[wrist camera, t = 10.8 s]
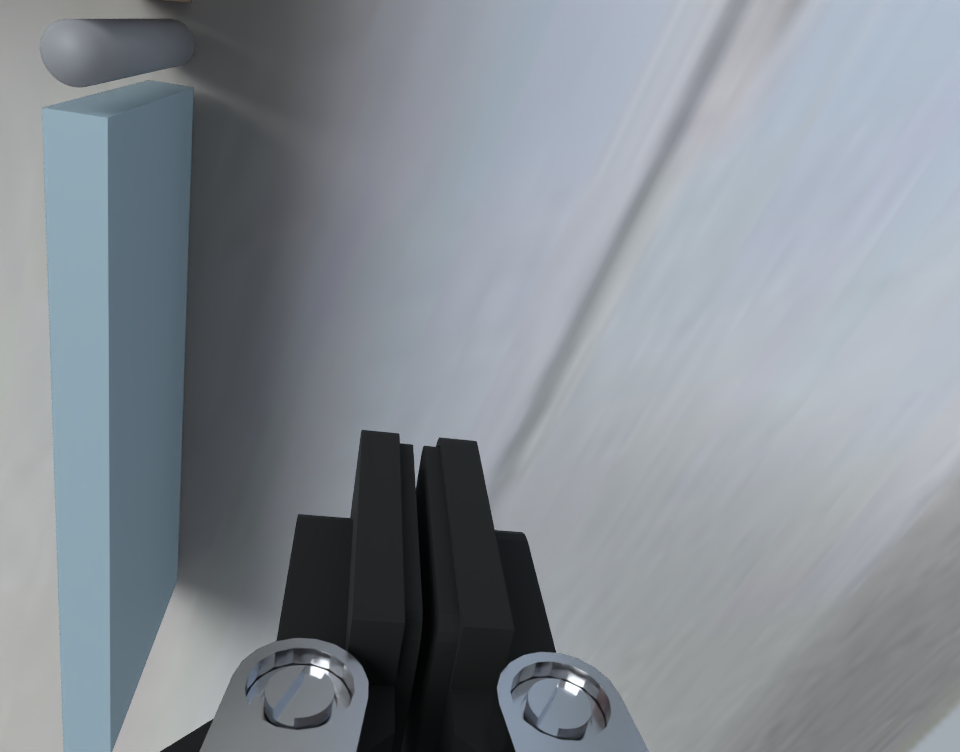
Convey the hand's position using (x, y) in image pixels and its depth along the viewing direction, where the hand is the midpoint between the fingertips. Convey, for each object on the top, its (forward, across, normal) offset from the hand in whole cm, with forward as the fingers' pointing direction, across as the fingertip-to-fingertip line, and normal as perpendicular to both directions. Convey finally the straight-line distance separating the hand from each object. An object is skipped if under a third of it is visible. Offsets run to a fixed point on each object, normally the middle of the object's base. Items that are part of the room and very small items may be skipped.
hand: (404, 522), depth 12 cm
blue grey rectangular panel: (+11, +6, +2) cm, 12 cm away
